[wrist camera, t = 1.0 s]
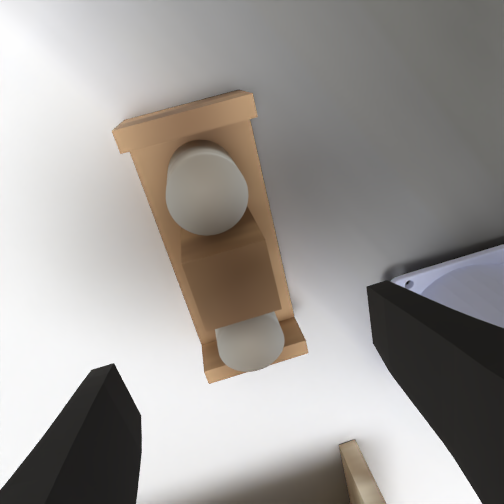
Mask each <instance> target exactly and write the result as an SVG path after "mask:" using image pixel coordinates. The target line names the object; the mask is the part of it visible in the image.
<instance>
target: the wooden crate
mask: <svg viewBox="0 0 504 504" xmlns="http://www.w3.org/2000/svg"><path fill="white" fill-rule="evenodd" d="M339 448H340V453H341V458H342V463H343V469H344V474H345V479H346V484H347V489H348V494H349V499H350V504H386V502H385V500H384V498H383V496H382V494H381V492H380V490H379V488H378V486H377V484H376V482H375V480H374V478H373V476H372V474H371V471H370V469H369V467H368V465H367V463H366V461H365V459H364V457H363V455H362V453H361V451H360V449H359V447H358V445H357V443H356V441H355V440H352V441H349V442H346V443H343V444H340V445H339Z"/></svg>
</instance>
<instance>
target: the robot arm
mask: <svg viewBox="0 0 504 504" xmlns="http://www.w3.org/2000/svg"><path fill="white" fill-rule="evenodd" d="M407 281H410V282H409V283H408V284H407V285H405V283H406V282H407ZM367 295H368V304H369V312H370V321H371V330H372V338H373V344H374V346H375V347H376V349H377V351H378V353H379V354H380V356H381V358H382V360H383V361H384V363H385V365H386V366H387V368H388V370H389V372H390V373H391V375H392V376H393V377H394V379H395V380H396V381H397V383H398V384H399V385H400V387H401V388H402V389H403V391H404V392H405V393H406V395H407V396H408V397H409V399H410V400H411V401H412V402H413V404H414V405H415V406H416V408H417V409H418V410H419V412H420V413H421V414H422V416H423V417H424V418H425V420H426V421H427V422H428V423H429V425H430V426H431V427H432V429H433V430H434V431H435V433H436V434H437V435H438V437H439V438H440V439H441V440H442V442H443V443H444V445H445V446H446V447H447V449H448V450H449V452H450V453H451V455H452V456H453V457H454V459H455V460H456V462H457V464H458V465H459V467H460V468H461V470H462V472H463V473H464V475H465V476H466V478H467V480H468V481H469V483H470V484H471V486H472V488H473V489H474V491H475V492H476V494H477V496H478V497H479V499H480V501H481V502H482V504H504V244H503V245H499V246H496V247H493V248H489V249H486V250H483V251H480V252H476V253H473V254H470V255H466V256H463V257H460V258H456V259H453V260H450V261H446V262H443V263H440V264H437V265H433V266H430V267H427V268H423V269H420V270H417V271H413V272H410V273H407V274H403V275H400V276H397V277H395V278H393V279H392V280H391V281H383V282H380V283H377V284H374V285H370V286H367ZM141 453H142V434H141V415H140V413H139V411H138V409H137V407H136V405H135V403H134V401H133V399H132V397H131V395H130V393H129V391H128V389H127V388H126V386H125V384H124V382H123V380H122V378H121V376H120V374H119V372H118V370H117V368H116V366H115V364H114V363H113V364H110V365H106V366H103V367H100V368H97V369H93V370H91V371H90V373H89V374H88V375H87V377H86V378H85V379H84V381H83V382H82V383H81V385H80V386H79V387H78V389H77V390H76V392H75V393H74V394H73V396H72V397H71V399H70V400H69V401H68V403H67V404H66V406H65V407H64V408H63V410H62V411H61V413H60V414H59V415H58V417H57V418H56V419H55V421H54V422H53V423H52V425H51V426H50V428H49V429H48V430H47V432H46V433H45V434H44V436H43V437H42V438H41V440H40V441H39V442H38V444H37V445H36V446H35V447H34V449H33V450H32V451H31V452H30V454H29V455H28V456H27V457H26V459H25V460H24V461H23V463H22V464H21V465H20V466H19V468H18V469H17V470H16V471H15V473H14V474H13V475H12V477H11V478H10V479H9V480H8V481H7V483H6V484H5V485H4V486H3V487H2V489H1V490H0V504H136V499H137V490H138V481H139V472H140V463H141Z"/></svg>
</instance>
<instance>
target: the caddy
mask: <svg viewBox="0 0 504 504" xmlns="http://www.w3.org/2000/svg"><path fill="white" fill-rule="evenodd" d="M255 117H258V116H257V112H256V107H255V102H254V98H253V93H249V92H245V91H241V90H236V91H232V92H228V93H224V94H221V95H217V96H213V97H209V98H206V99H202V100H198V101H194V102H191V103H187V104H183V105H179V106H176V107H172V108H168V109H164V110H160V111H157V112H153V113H149V114H145V115H142V116H138V117H134V118H130V119H127V120H124V121H123V122H121V123H120V124H119V125H118V126H117V127H116V128H115V129H113V130H112V133H113V136H114V138H115V141H116V143H117V146H118V149H119V151H120V154H122V153H126V152H130V154H131V157H132V159H133V162H134V165H135V167H136V170H137V173H138V175H139V178H140V181H141V183H142V186H143V189H144V191H145V194H146V197H147V199H148V202H149V205H150V208H151V210H152V213H153V216H154V218H155V221H156V224H157V226H158V229H159V232H160V234H161V237H162V240H163V242H164V245H165V248H166V250H167V253H168V256H169V259H170V261H171V264H172V267H173V269H174V272H175V275H176V277H177V280H178V283H179V285H180V288H181V291H182V293H183V296H184V299H185V301H186V304H187V307H188V310H189V312H190V315H191V318H192V320H193V323H194V326H195V328H196V331H197V334H198V336H199V339H200V342H201V344H202V353H203V364H204V372H205V375H206V378H207V380H208V383H209V384H211V383H214V382H217V381H220V380H223V379H227V378H230V377H233V376H236V375H239V374H243V373H246V372H251V371H257V370H260V369H263V368H265V367H267V366H269V365H272V364H275V363H278V362H281V361H285V360H288V359H291V358H294V357H297V356H301V355H304V354H307V353H308V349H307V344H306V340H305V338H304V336H303V334H302V332H301V330H300V328H299V326H298V324H297V321H296V319H295V317H294V313H293V309H292V305H291V300H290V296H289V291H288V287H287V282H286V278H285V273H284V269H283V264H282V260H281V255H280V251H279V247H278V242H277V238H276V233H275V229H274V224H273V220H272V215H271V211H270V206H269V202H268V198H267V193H266V189H265V184H264V180H263V175H262V171H261V166H260V162H259V157H258V153H257V148H256V144H255V140H254V135H253V131H252V126H251V122H250V119H252V118H255Z"/></svg>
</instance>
